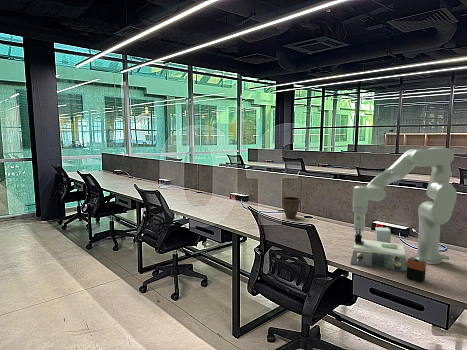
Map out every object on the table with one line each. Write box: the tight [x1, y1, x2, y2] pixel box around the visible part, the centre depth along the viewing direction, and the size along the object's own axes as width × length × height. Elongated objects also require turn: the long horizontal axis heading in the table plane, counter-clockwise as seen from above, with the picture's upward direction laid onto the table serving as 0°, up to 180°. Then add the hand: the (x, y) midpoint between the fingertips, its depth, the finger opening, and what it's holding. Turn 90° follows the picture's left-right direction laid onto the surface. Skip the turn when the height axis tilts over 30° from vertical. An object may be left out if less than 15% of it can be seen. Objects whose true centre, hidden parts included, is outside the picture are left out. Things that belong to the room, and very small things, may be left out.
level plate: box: [353, 239, 406, 258], centre depth 169 cm, size 24×16×4 cm, turn 65°
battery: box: [405, 256, 427, 283], centre depth 147 cm, size 4×7×10 cm, turn 43°
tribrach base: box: [350, 249, 407, 273], centre depth 170 cm, size 26×20×6 cm
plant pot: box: [281, 196, 301, 219], centre depth 265 cm, size 15×15×16 cm
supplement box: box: [374, 226, 392, 243], centre depth 186 cm, size 7×7×13 cm
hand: (358, 242), depth 173 cm, fingers closed
